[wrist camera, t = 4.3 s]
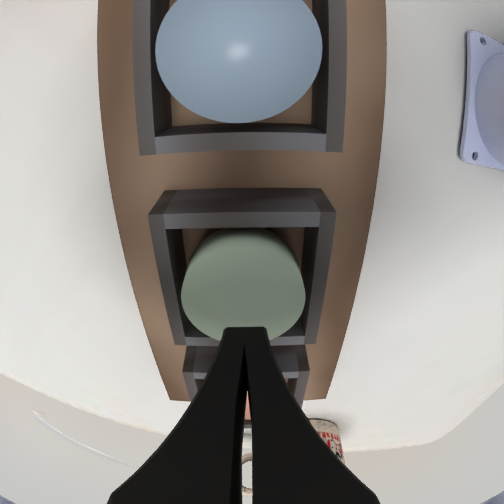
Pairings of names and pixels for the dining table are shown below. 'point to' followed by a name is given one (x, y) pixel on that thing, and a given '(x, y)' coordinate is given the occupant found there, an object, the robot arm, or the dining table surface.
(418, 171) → the dining table surface
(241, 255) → the button sage
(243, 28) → the button slate
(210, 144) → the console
